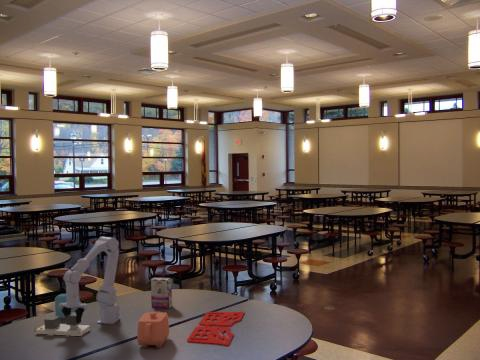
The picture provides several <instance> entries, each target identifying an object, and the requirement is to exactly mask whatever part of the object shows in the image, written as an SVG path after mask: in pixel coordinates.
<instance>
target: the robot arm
mask: <svg viewBox="0 0 480 360" xmlns="http://www.w3.org/2000/svg"><path fill="white" fill-rule="evenodd" d="M119 245H120V242H119V241H118V240H117V239H116V237H108V236H100V237H99V238H98V239H97V240H96V241H95V242H94V245H93V246H92V248H91V249H90V250H89V251H88V253H87V254H86V255H85V257H84V258H83V257H82V258H80V259H78V260H77V261H76V263H75V264H74V265H73V266H72V267H71V268H70V270H67V271H66V272H65V273H64V274H63V277H62V279H63V281H64V283H65V291H66V292H65V294H66V296H67V303H60V304H59V308H61V307H62V308H63V309H62V310H61V311H62V312H63V314H64V316H65V318H64V319H66V316H67V315H68V314H70V313H71V308H78V309H76V310H75V312H76V316H77V324H78V325H80V324H81V323H82V319H83V315H84V312H85V310H87V309H88V303H84V302H83V303H82V302H80V303H79V296H80V290H79V289H80V288H79V282H80V281H81V279H82V276H83V274H84V273H85V272H86V270H87V269H89V267H90V262H92V261H93V260H94V259H95V258H96V257H97V256H98V255H99V254H100V253H102V252H105V253H106V255H107V259H106V264H105V270H104V276H103V281H102V282H103V283H102V285H101V286H100V287H99V289H98V292H97V293H96V296H95V297H96V301H97V302H98V304H99V318H100V319H99V320H98V321H96V323H97V324H108V325H109V324H110V325H113V324H115V323H117V322H118V321H119V320H121V317H120V314H121V313H120V306H119V304H116V301H117V299H118V296H117V289H116V288H115V286H114V284H115V279H116V275H117V267H118V263H119V262H118V261H119V257H120V256H119V255H120V254H119V253H120V250H119Z"/></svg>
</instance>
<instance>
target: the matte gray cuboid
mask: <svg viewBox="0 0 480 360" xmlns="http://www.w3.org/2000/svg"><path fill="white" fill-rule="evenodd" d="M65 321H66V322H65V324H66V325H70V329H72V330H75V329H76V328H78V325H79V324H77V316H76V313H73V312H72V313H70V314H68V315H67V316H66V318H65Z"/></svg>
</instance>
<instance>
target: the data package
mask: <svg viewBox="0 0 480 360" xmlns="http://www.w3.org/2000/svg"><path fill="white" fill-rule="evenodd" d="M80 299H81V297H80V295H79V303H81V300H80ZM60 303H67V296H66V293H60V294H58V295H57V296H55V298H54V309H55V312H54V313H55V316H60V319H66V318H65V316H64V314H63V312H62V311H61V310H62V309H63V308H62V307H61V308H59V304H60ZM76 309H78V308H71V313H72V312H73V313H76V312H75V310H76Z"/></svg>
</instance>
